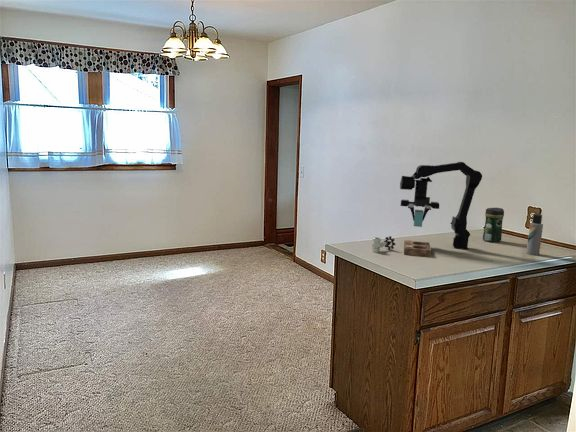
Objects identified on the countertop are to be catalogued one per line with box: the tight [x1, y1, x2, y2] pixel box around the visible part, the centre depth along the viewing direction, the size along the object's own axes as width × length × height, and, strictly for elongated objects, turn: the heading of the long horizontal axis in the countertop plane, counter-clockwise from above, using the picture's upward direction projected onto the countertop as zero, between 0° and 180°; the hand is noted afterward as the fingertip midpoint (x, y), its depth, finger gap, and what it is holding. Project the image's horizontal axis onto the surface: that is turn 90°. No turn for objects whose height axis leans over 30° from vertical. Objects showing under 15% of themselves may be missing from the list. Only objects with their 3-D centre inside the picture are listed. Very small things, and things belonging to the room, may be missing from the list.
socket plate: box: [403, 239, 432, 258], centre depth 231 cm, size 12×18×3 cm, turn 166°
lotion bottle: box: [526, 213, 544, 256], centre depth 235 cm, size 6×6×20 cm
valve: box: [371, 235, 397, 253], centre depth 228 cm, size 7×7×12 cm
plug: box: [413, 209, 424, 228], centre depth 243 cm, size 4×4×8 cm
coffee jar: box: [482, 207, 505, 243], centre depth 262 cm, size 10×8×19 cm
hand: (418, 220), depth 243 cm, fingers closed on plug, 4 cm apart
